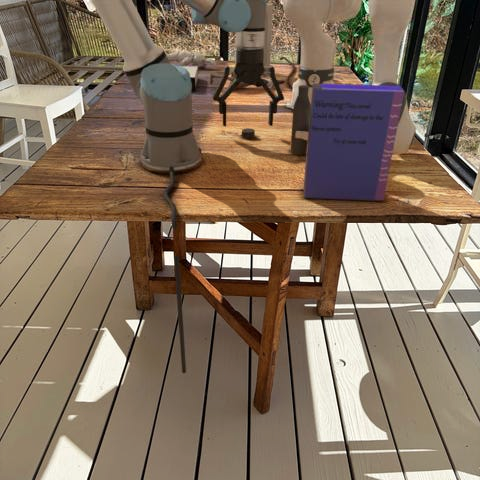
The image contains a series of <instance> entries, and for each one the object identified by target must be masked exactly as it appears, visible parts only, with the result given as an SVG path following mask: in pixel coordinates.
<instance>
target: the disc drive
mask: <svg viewBox="0 0 480 480" xmlns="http://www.w3.org/2000/svg"><path fill="white" fill-rule="evenodd" d="M182 67H184V68H185V69H187V70H188V72H189V74H190V78H191V83H192V89H191V92H192V91H195V92H196V90H197V88H196V87H197V83H198V79H199V67H198V66H190V65H184V66H182Z"/></svg>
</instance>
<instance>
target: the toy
mask: <svg viewBox="0 0 480 480" xmlns="http://www.w3.org/2000/svg"><path fill="white" fill-rule="evenodd" d="M165 53H166V55H167V57H168V59H169V61H170V62H178V64H179V66H189V65H190V64H192V66H198V68H200V65H204V64H205V63H210V64H211V65H212V66H214V67H217V64H218V63H217V62H216V60H214V59H212V58H210V57H209V58H206V56H205V55H204V54H202V53H200V51H198V50H197V51H195V52H190V51H187V50H181V51H178V50H176V51H174V52H170V53H168V52H166V51H165Z"/></svg>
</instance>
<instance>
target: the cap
mask: <svg viewBox="0 0 480 480" xmlns="http://www.w3.org/2000/svg"><path fill="white" fill-rule="evenodd" d="M255 135H256V130H255V129H254V128H247V127H246V128H243V129H242V130H241V138H242V139H245V140H252V139H254V138H255V137H256V136H255Z"/></svg>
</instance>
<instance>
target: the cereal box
mask: <svg viewBox="0 0 480 480" xmlns="http://www.w3.org/2000/svg"><path fill="white" fill-rule="evenodd" d="M401 87H402V86H401ZM401 87H399V86H382V85H371V84H344V83H343V84H341V83H334V84H313V87H312V98H311V109H310V120H309V131H308V142H307V153H306V154H305V165H304V177H303V188H302V189H303V190H302V191H303V197H304V199H317V200H343V201H344V200H345V201H346V200H347V201H366V202H367V201H368V202H369V201H370V202H384V201H385V195H386V190H387V184H388V178H389V174H390V168H391V164H392V158H393V155H392V153H393V148H394V142H395V137H396V132H397V127H398V121H399V116H400V111H401V105H402V100H403V95H404V91H405V90H404V88H403V87H402V88H403V89H402V88H401ZM403 90H404V91H403Z"/></svg>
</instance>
